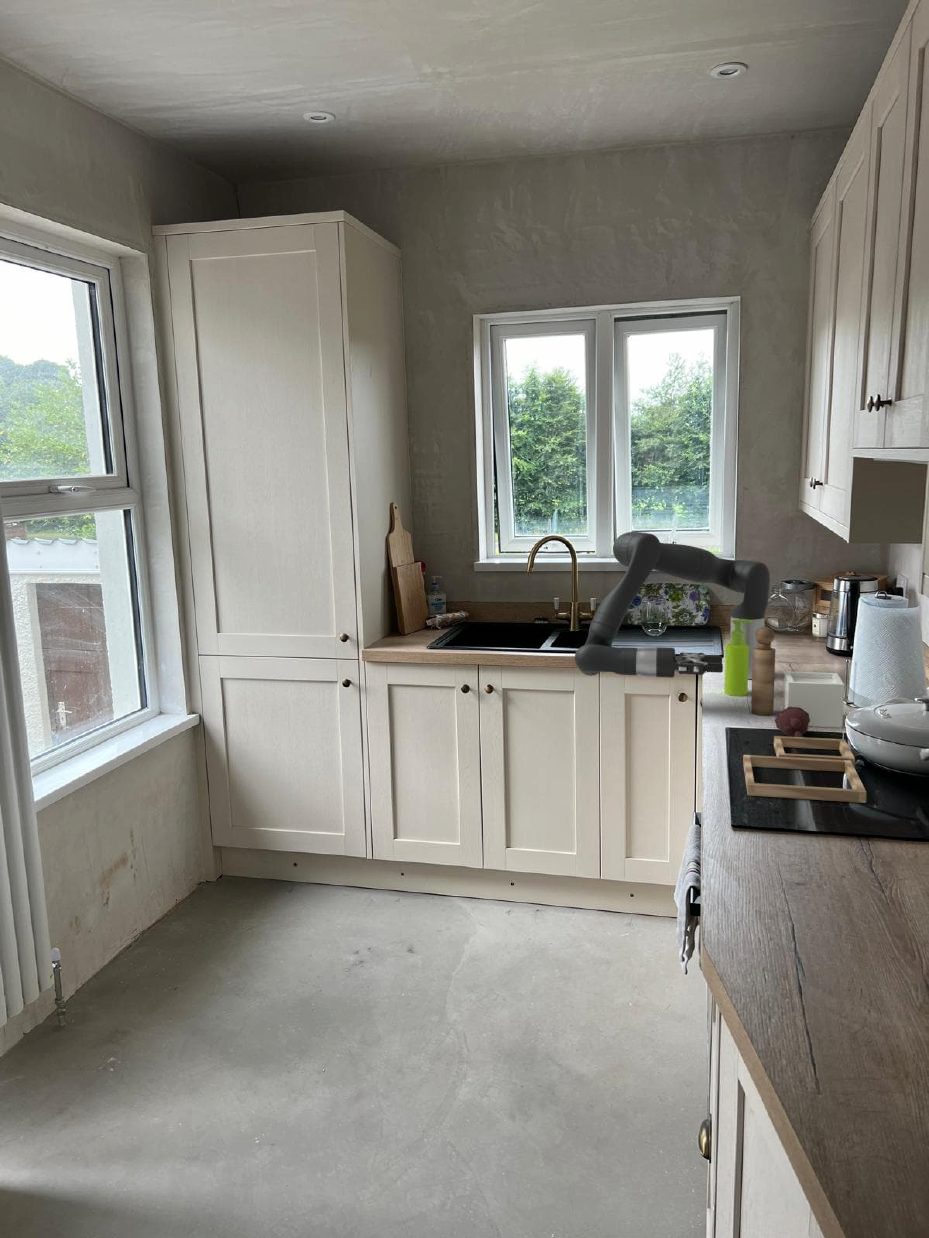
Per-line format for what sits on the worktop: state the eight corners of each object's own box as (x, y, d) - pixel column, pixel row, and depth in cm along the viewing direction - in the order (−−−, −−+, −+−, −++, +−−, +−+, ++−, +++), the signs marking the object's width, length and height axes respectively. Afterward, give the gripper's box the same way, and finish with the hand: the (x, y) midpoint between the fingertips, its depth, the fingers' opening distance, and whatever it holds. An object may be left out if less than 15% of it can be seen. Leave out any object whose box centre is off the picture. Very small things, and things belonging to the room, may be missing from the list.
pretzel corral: (743, 764, 187) (743, 754, 186) (850, 770, 182) (850, 760, 181) (747, 795, 169) (747, 784, 169) (865, 802, 164) (866, 792, 164)
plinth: (782, 711, 225) (784, 671, 223) (834, 713, 222) (836, 673, 220) (787, 725, 213) (788, 682, 212) (842, 727, 210) (844, 684, 209)
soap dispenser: (752, 696, 240) (754, 621, 237) (725, 695, 241) (727, 621, 238) (750, 691, 246) (752, 617, 242) (723, 690, 247) (725, 617, 244)
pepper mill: (750, 709, 227) (753, 624, 224) (772, 710, 226) (775, 625, 222) (751, 715, 222) (754, 628, 219) (774, 716, 221) (777, 629, 218)
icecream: (768, 699, 212) (777, 722, 198) (801, 692, 210) (812, 715, 196) (774, 726, 213) (784, 752, 199) (807, 720, 212) (819, 745, 197)
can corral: (773, 744, 199) (774, 735, 199) (844, 748, 195) (844, 739, 195) (778, 764, 186) (779, 754, 186) (854, 768, 183) (855, 758, 182)
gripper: (654, 653, 221) (723, 655, 217) (656, 642, 235) (722, 643, 231) (653, 683, 223) (722, 685, 219) (656, 670, 236) (721, 672, 232)
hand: (722, 664), depth 225 cm, fingers open, 8 cm apart
